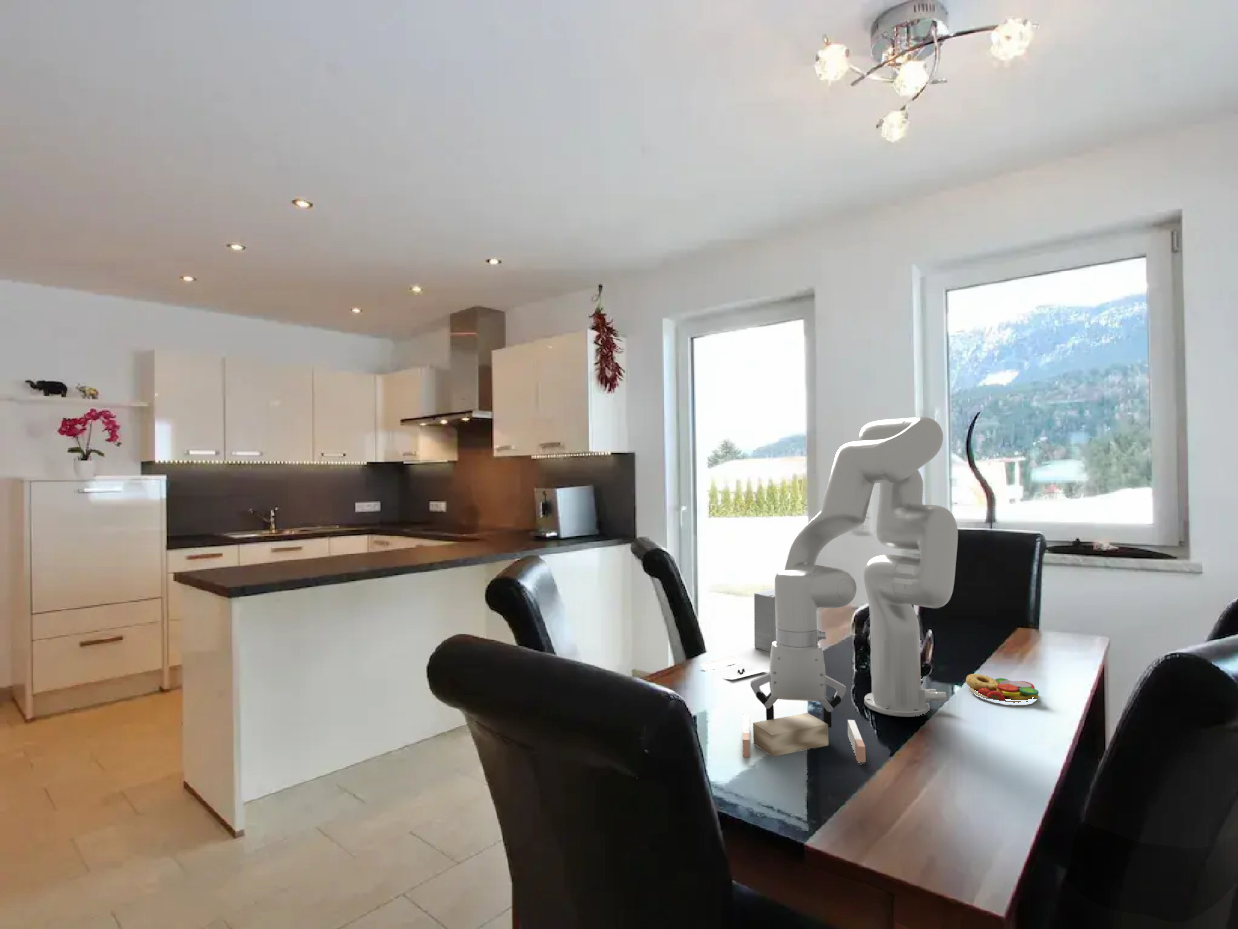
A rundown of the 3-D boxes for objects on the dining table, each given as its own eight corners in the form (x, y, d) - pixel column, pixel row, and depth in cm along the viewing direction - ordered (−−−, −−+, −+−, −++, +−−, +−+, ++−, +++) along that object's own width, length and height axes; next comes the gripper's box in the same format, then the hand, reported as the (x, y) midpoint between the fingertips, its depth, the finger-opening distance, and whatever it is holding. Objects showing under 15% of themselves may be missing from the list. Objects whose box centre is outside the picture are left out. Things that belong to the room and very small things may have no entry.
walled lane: (854, 736, 123) (854, 720, 123) (865, 764, 111) (865, 746, 111) (743, 730, 127) (743, 714, 127) (742, 756, 115) (742, 739, 115)
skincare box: (770, 642, 190) (768, 587, 190) (791, 647, 184) (790, 590, 185) (752, 648, 184) (751, 591, 184) (774, 653, 179) (773, 595, 179)
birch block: (807, 734, 125) (807, 713, 125) (828, 746, 119) (828, 724, 119) (753, 744, 120) (753, 722, 120) (772, 757, 115) (771, 734, 115)
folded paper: (732, 684, 155) (732, 675, 155) (699, 671, 165) (699, 663, 166) (769, 675, 162) (769, 667, 162) (735, 663, 172) (735, 655, 172)
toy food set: (961, 686, 150) (961, 671, 150) (1025, 688, 148) (1025, 674, 148) (981, 706, 137) (980, 691, 137) (1051, 710, 134) (1051, 694, 134)
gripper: (842, 634, 125) (844, 724, 124) (749, 631, 128) (751, 719, 128) (847, 644, 117) (849, 740, 117) (749, 640, 121) (751, 734, 121)
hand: (798, 729), depth 123 cm, fingers open, 9 cm apart
